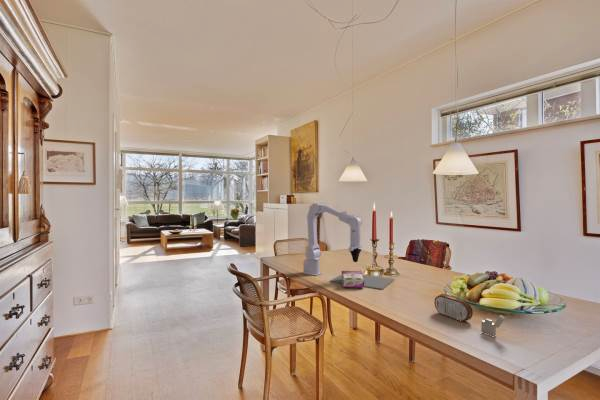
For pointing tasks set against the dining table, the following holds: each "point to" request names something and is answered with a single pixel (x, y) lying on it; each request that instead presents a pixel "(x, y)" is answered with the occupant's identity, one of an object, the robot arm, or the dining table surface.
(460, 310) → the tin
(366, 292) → the dining table surface
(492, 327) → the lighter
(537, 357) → the dining table surface
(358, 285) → the candy bar box
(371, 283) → the slate placemat
